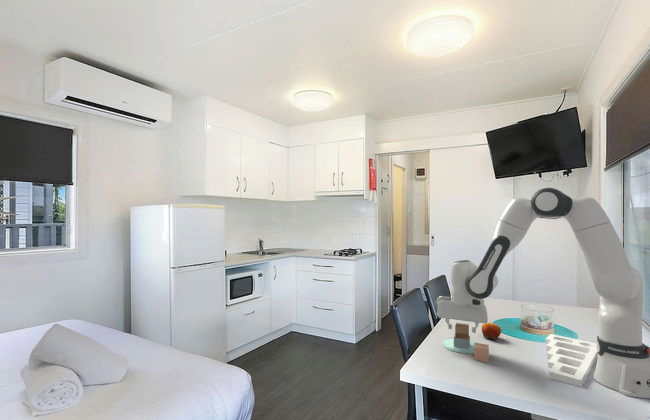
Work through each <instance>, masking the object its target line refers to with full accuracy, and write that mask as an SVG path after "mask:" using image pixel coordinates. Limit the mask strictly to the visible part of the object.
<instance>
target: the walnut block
mask: <svg viewBox="0 0 650 420" xmlns="http://www.w3.org/2000/svg"><path fill="white" fill-rule="evenodd" d="M454 325H455V326H454V330H455V331H454V336H455V338H461V339H467V340H468V337H469V336H470V331H469V330H470V328H469V327H470V326H469V325H470V324H469V323H463V322H462V323H461V322H456V323H455V324H454Z"/></svg>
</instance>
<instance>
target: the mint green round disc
mask: <svg viewBox="0 0 650 420" xmlns="http://www.w3.org/2000/svg"><path fill="white" fill-rule="evenodd" d="M475 343H476V342H475V341H472V340H471V335H469V337H468V340H467V339H461V338H455V335H454V336H453V338H448V339H444V340H443V341H442V342H441V344H443V345H442V347H443V348H445V349H446V348H447V350H448V349H449V350H448V351H451V352H455V353H459V354H464V355H465V354H468V355H469V354H470V355H474V344H475Z"/></svg>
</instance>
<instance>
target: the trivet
mask: <svg viewBox="0 0 650 420" xmlns="http://www.w3.org/2000/svg"><path fill="white" fill-rule="evenodd" d="M545 344H546V345H545V346H546V347H545V349H546V359H547V361H548V362H547V368H549V370H548V378H549V379H553V380H556V381H559V382H563V383H566V384H569V385H573V386H577V387H580V386H581V387H583V385H584V383H585V381H586V378H587V377H588V375H589V373H590V371H591V369H592V368H591V367H593V366H594V364H595V362H596V361H597V359H598V353H597V342H596V343H595V342H591V341H586V340H581V339H577V338H571V337H568V336H562V335H557V334H552V333H549V335H548V336H547V337H545ZM574 357H575V358H574ZM582 359H583V360H582ZM573 374H575V375H573ZM584 380H585V381H584ZM583 382H584V383H583ZM582 384H583V385H582Z"/></svg>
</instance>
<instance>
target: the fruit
mask: <svg viewBox="0 0 650 420" xmlns="http://www.w3.org/2000/svg"><path fill="white" fill-rule="evenodd" d="M481 333H482V335H483V338H485V340H486V339H492V340H494V341H496V340H497V339H499V337H500V336H501V333H502V329H501V327H500V326H499V325H498V324H497V323H493V322H487V323H486V324H485V323H482V326H481Z"/></svg>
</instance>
